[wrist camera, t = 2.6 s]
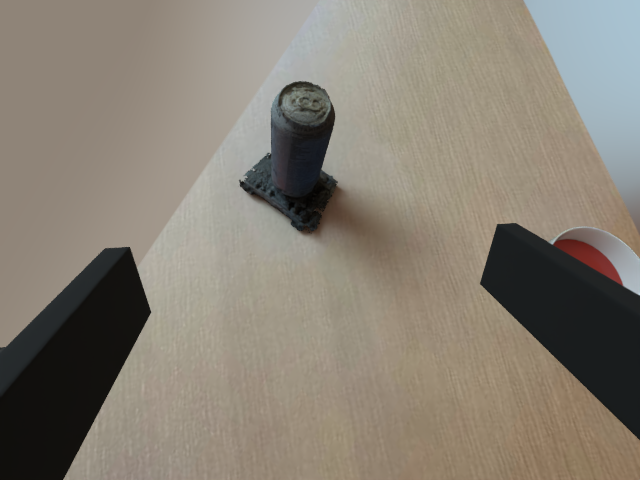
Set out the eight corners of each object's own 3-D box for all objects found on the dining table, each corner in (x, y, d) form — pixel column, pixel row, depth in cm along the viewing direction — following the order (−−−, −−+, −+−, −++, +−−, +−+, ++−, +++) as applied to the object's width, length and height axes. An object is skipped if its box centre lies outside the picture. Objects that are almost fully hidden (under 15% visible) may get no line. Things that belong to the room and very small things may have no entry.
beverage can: (344, 176, 32) (375, 88, 21) (312, 238, 30) (327, 176, 18) (267, 140, 33) (257, 34, 21) (230, 198, 30) (195, 113, 19)
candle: (596, 288, 31) (669, 276, 25) (557, 359, 29) (629, 365, 23) (522, 230, 32) (576, 206, 26) (479, 293, 30) (527, 282, 24)
